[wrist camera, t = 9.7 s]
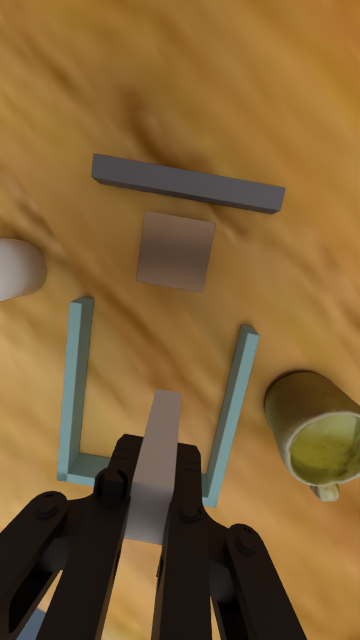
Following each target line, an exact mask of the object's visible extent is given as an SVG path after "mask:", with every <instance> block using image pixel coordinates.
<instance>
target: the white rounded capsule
mask: <svg viewBox="0 0 360 640" xmlns="http://www.w3.org/2000/svg"><path fill="white" fill-rule="evenodd" d="M46 275H47V266H46V262H45V259H44V257H43V255H42V254H41V252H40V251H39V250H38V249H37V248H36V247H35V246H34V245H32V244H31V243H29V242H26V241H23V240H17V239H5V238H0V301H2V300H6V299H10V298H14V297H18V296H23V295H27V294H30V293H33V292H35V291H37V290H38V289H39V288H41V286H42V285H43V284H44V282H45V279H46Z"/></svg>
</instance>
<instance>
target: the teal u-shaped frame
mask: <svg viewBox="0 0 360 640" xmlns="http://www.w3.org/2000/svg"><path fill="white" fill-rule="evenodd" d="M93 301H94V298H88V297H81V298H79V299H76V300H74V301H71V302H70V308H69V321H68V335H67V348H66V361H65V375H64V388H63V402H62V415H61V429H60V442H59V456H58V469H57V480H59V481H64V482H70V483H76V484H82V485H88V486H93V487H94V482H95V477H96V476H97V474H98V473H99V472H100V471H101V470H103V469H104V468H107V467H108V464H109V462H110V459H111V458H107V457H101V456H95V455H89V454H84V453H79V447H80V437H81V426H82V416H83V406H84V395H85V385H86V374H87V364H88V353H89V343H90V332H91V322H92V312H93ZM259 336H260V335H259V334H258V333H257V332H256V330H255V329H254V328H253V327H252V326H247V325H241V330H240V334H239V338H238V342H237V346H236V351H235V355H234V359H233V363H232V368H231V372H230V376H229V380H228V385H227V389H226V393H225V397H224V402H223V406H222V410H221V414H220V419H219V423H218V427H217V431H216V436H215V440H214V444H213V448H212V453H211V457H210V461H209V465H208V470H207V474H206V475H205V474H201V478H202V501H203V506H209V507H215V508H216V505H217V501H218V497H219V493H220V489H221V485H222V481H223V478H224V474H225V470H226V466H227V462H228V458H229V454H230V450H231V446H232V442H233V438H234V434H235V431H236V427H237V423H238V419H239V415H240V411H241V407H242V403H243V399H244V395H245V391H246V387H247V383H248V380H249V376H250V372H251V368H252V364H253V360H254V356H255V352H256V348H257V344H258V340H259Z"/></svg>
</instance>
